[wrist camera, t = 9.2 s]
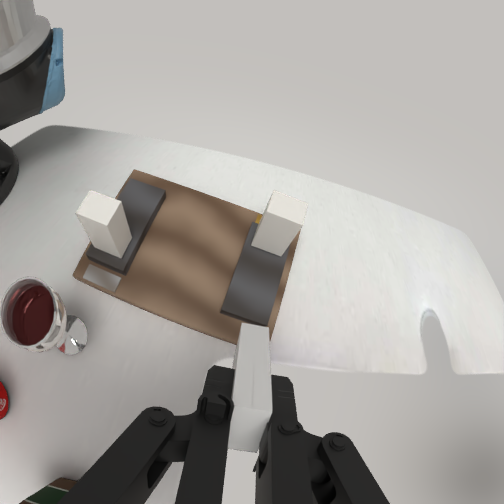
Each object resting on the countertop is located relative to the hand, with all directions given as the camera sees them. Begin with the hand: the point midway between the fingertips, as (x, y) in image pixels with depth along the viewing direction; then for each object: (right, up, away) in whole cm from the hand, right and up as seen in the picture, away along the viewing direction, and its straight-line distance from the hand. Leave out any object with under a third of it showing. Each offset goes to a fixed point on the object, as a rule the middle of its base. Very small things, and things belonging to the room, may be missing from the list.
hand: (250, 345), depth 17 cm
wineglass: (-22, -5, +15) cm, 28 cm away
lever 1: (-17, +6, +18) cm, 25 cm away
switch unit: (-8, +5, +23) cm, 25 cm away
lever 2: (+2, +7, +22) cm, 23 cm away
